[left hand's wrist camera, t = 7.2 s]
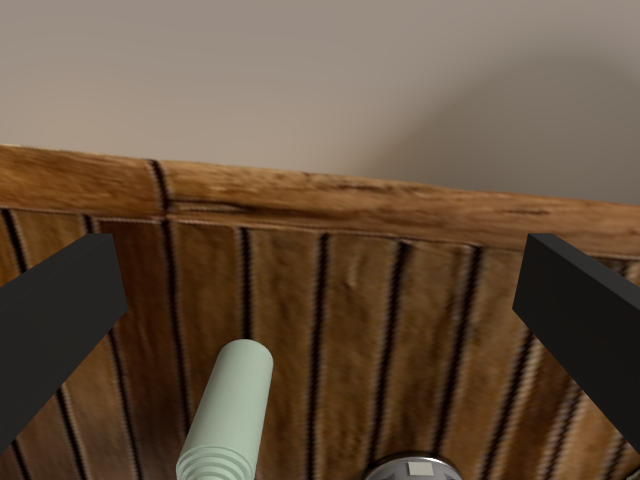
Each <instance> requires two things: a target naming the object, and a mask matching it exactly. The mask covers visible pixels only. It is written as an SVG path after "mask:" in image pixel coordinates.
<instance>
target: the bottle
mask: <svg viewBox="0 0 640 480" xmlns="http://www.w3.org/2000/svg"><path fill="white" fill-rule="evenodd" d="M272 369H273V359H272V356H271V354H270V352H269V351H268V350H267V349H266V348H265V347H264V346H263V345H261V344H260V343H258V342H255V341H252V340H246V339H242V340H235V341H232V342H230V343H228V344H226V345H225V346H224V347H223V348H222V349H221V351H220V353H219V355H218V357H217V360H216V363H215V365H214V368H213V370H212V373H211V376H210V378H209V381H208V384H207V386H206V389H205V391H204V394H203V397H202V399H201V402H200V404H199V407H198V410H197V412H196V415H195V418H194V420H193V423H192V425H191V428H190V431H189V433H188V436H187V438H186V441H185V444H184V446H183V449H182V452H181V454H180V457H179V459H178V462H177V466H176V474H177V480H254V476H255V470H256V464H257V458H258V452H259V446H260V440H261V434H262V428H263V422H264V417H265V411H266V405H267V399H268V393H269V387H270V381H271V375H272Z"/></svg>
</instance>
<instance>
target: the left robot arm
mask: <svg viewBox="0 0 640 480" xmlns="http://www.w3.org/2000/svg"><path fill="white" fill-rule="evenodd" d="M127 310H128V307H127V303H126V298H125V293H124V288H123V284H122V279H121V274H120V270H119V265H118V260H117V256H116V251H115V246H114V242H113V237H112V233H87V234H86V235H84V236H83V237H81V238H79V239H78V240H76V241H75V242H73V243H71V244H70V245H68V246H66V247H65V248H63V249H62V250H60V251H58V252H57V253H55V254H54V255H52V256H50V257H49V258H47V259H46V260H44V261H42V262H41V263H39V264H37V265H36V266H34V267H33V268H31V269H29V270H28V271H26V272H25V273H23V274H21V275H20V276H18V277H16V278H15V279H13V280H12V281H10V282H8V283H7V284H5V285H4V286H2V287H0V455H1V454H2V453H3V451H4V450H5V449H6V448H7V447H8V446H9V445H10V443H11V442H12V441H13V440H14V439H15V438H16V437H17V435H18V434H19V433H20V432H21V431H22V430H23V429H24V427H25V426H26V425H27V424H28V423H29V422H30V421H31V419H32V418H33V417H34V416H35V415H36V414H37V413H38V411H39V410H40V409H41V408H42V407H43V406H44V404H45V403H46V402H47V401H48V400H49V399H50V398H51V396H52V395H53V394H54V393H55V392H56V391H57V390H58V388H59V387H60V386H61V385H62V384H63V383H64V382H65V380H66V379H67V378H68V377H69V376H70V375H71V374H72V372H73V371H74V370H75V369H76V368H77V367H78V366H79V364H80V363H81V362H82V361H83V360H84V359H85V358H86V356H87V355H88V354H89V353H90V352H91V351H92V350H93V348H94V347H95V346H96V345H97V344H98V343H99V342H100V340H101V339H102V338H103V337H104V336H105V335H106V334H107V332H108V331H109V330H110V329H111V328H112V327H113V326H114V324H115V323H116V322H117V321H118V320H119V319H120V318H121V316H122V315H123V314H124V313H125V312H126V311H127ZM512 310H513V311H514V312H515V313H516V314H517V315H518V316H519V318H520V319H521V320H522V321H523V322H524V323H525V324H526V326H527V327H528V328H529V329H530V330H531V331H532V332H533V334H534V335H535V336H536V337H537V338H538V339H539V340H540V342H541V343H542V344H543V345H544V346H545V347H546V348H547V350H548V351H549V352H550V353H551V354H552V355H553V356H554V358H555V359H556V360H557V361H558V362H559V363H560V364H561V366H562V367H563V368H564V369H565V370H566V371H567V372H568V374H569V375H570V376H571V377H572V378H573V379H574V380H575V382H576V383H577V384H578V385H579V386H580V387H581V388H582V390H583V391H584V392H585V393H586V394H587V395H588V396H589V398H590V399H591V400H592V401H593V402H594V403H595V404H596V406H597V407H598V408H599V409H600V410H601V411H602V413H603V414H604V415H605V416H606V417H607V418H608V419H609V421H610V422H611V423H612V424H613V425H614V426H615V427H616V429H617V430H618V431H619V432H620V433H621V434H622V435H623V437H624V438H625V439H626V440H627V441H628V442H629V443H630V445H631V446H632V447H633V448H634V449H635V450H636V451H637V453H638V454H639V455H640V287H638V286H636V285H635V284H633V283H632V282H630V281H628V280H627V279H625V278H624V277H622V276H620V275H619V274H617V273H615V272H614V271H612V270H611V269H609V268H607V267H606V266H604V265H603V264H601V263H599V262H598V261H596V260H594V259H593V258H591V257H590V256H588V255H586V254H585V253H583V252H582V251H580V250H578V249H577V248H575V247H574V246H572V245H570V244H569V243H567V242H565V241H564V240H562V239H561V238H559V237H557V236H556V235H554V234H553V233H528V237H527V242H526V246H525V251H524V256H523V260H522V265H521V270H520V274H519V279H518V284H517V288H516V293H515V298H514V303H513V307H512ZM361 480H463V479H462V476H461V474H460V471H459V470H458V468H457V467H456V466H455V465H454V464H453V463H452V462H450V461H449V460H448V459H446V458H444V457H442V456H440V455H437V454H433V453H429V452H422V451H408V452H401V453H397V454H393V455H390V456H387V457H385V458H383V459H381V460H379V461H378V462H376V463H375V464H373V465H372V466H371V467H370V468H369V469H368V470H367V471H366V472H365V474H364V475H363V477H362V479H361Z"/></svg>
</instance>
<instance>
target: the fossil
mask: <svg viewBox="0 0 640 480" xmlns="http://www.w3.org/2000/svg"><path fill="white" fill-rule="evenodd" d="M627 480H640V469H639V470H638V471H637V472H636V473H634V474H633V475H631V476H630V477H628V478H627Z"/></svg>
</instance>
